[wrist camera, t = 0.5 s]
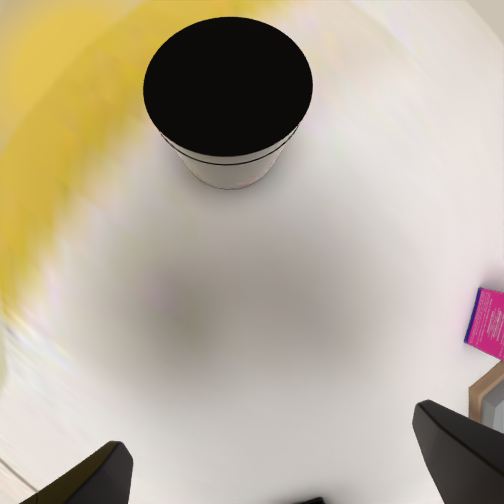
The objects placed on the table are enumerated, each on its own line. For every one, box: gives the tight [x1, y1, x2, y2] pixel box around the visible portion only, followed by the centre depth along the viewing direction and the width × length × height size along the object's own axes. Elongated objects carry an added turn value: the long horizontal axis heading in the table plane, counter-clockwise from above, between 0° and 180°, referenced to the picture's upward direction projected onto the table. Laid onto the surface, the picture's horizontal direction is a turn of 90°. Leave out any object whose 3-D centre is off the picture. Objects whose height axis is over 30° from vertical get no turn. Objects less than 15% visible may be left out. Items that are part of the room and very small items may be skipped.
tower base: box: [469, 360, 504, 423], centre depth 24 cm, size 9×9×2 cm
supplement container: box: [143, 17, 313, 189], centre depth 15 cm, size 7×7×10 cm
